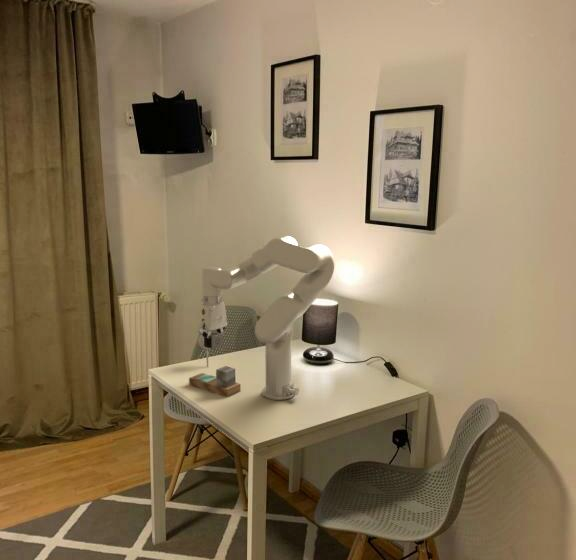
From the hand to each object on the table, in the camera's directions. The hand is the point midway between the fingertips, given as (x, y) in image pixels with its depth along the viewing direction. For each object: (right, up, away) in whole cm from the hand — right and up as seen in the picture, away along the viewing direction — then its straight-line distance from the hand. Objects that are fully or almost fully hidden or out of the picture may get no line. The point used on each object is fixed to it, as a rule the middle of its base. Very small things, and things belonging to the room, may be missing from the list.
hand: (213, 344), depth 217 cm
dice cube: (0, -1, 0) cm, 1 cm away
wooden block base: (+1, -16, -2) cm, 17 cm away
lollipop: (-5, -12, +21) cm, 25 cm away
